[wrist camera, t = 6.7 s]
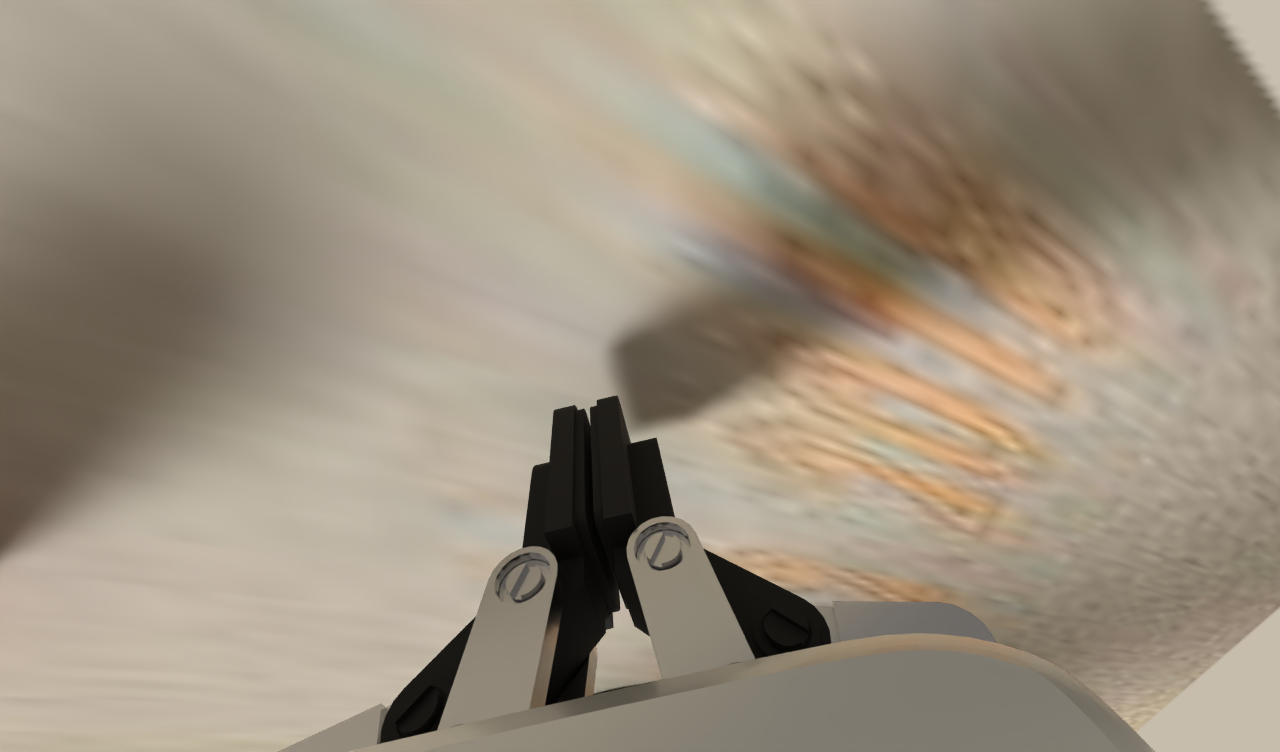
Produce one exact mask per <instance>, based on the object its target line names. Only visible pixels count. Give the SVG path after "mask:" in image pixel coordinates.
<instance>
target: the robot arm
mask: <svg viewBox="0 0 1280 752" xmlns="http://www.w3.org/2000/svg"><path fill="white" fill-rule="evenodd" d="M590 423H591V426H590ZM590 423H589V420H588V417H587V414H586V411H585V409H581V410H577V407H576V406H575V405H573V406H569V407H565V408H560V409H556V410H554V413H553V425H552V438H551V450H550V462H548V463H544V464H540V465H535V466H534V467H533V470H532V476H531V484H530V492H529V500H528V508H527V516H526V524H525V532H524V540H523V548H521V549H519V550H517V551H515V552H513V553H511V554H509V555H508V556H507V557H505V558H504V559H503V560H502V561H501V562H500V563H499V564H498V565H497V566H496V568H495V569H494V570H493V572H492V574H491V576H490V578H489V580H488V583H487V586H486V589H485V592H484V595H483V597H482V600H481V603H480V606H479V609H478V612H477V615H476V617H475V618H474V619H473V620H472V621H471V622H470V623H469V624H468V625H467V626H466V627H465V628H464V629H463V630H462V631H461V632H460V633H459V634H458V635H457V636H456V637H455V638H454V639H453V640H452V641H451V642H450V643H449V644H448V645H447V646H446V647H445V648H444V649H443V650H442V651H441V652H440V653H439V654H438V655H437V656H436V657H435V658H434V659H433V660H432V661H431V662H430V663H429V664H428V665H427V666H426V667H425V668H424V669H423V670H422V671H421V672H420V673H419V674H418V675H417V676H416V677H415V678H414V679H413V680H412V681H411V682H410V683H409V684H408V685H407V686H406V687H405V688H404V689H403V691H402V692H401V693H400V694H399V695H398V697H397V698H396V699H395V700H394V701H393V703H392V705H390V706H388V707H385V706H384V705H383V704H382V703H381V704H379V705H377V706H375V707H373V708H371V709H368V710H366V711H364V712H362V713H360V714H358V715H356V716H353V717H351V718H349V719H347V720H345V721H343V722H341V723H338V724H336V725H334V726H332V727H330V728H328V729H325V730H323V731H321V732H319V733H317V734H315V735H313V736H310V737H308V738H306V739H304V740H302V741H300V742H298V743H295V744H293V745H291V746H289V747H287V748H285V749H283V750H280V751H279V752H1155V751H1154V750H1153V749H1152V748H1151V747H1150V746H1149V745H1148V744H1147V743H1146V742H1145V741H1144V740H1143V739H1142V738H1141V737H1140V736H1139V735H1138V734H1137V733H1136V732H1135V731H1134V730H1133V729H1132V728H1131V727H1130V726H1129V725H1128V724H1127V723H1126V722H1125V721H1124V720H1123V719H1122V718H1121V717H1120V716H1119V715H1118V714H1117V713H1116V712H1115V711H1114V710H1113V709H1112V708H1110V707H1109V706H1108V705H1107V704H1106V703H1105V702H1104V701H1103V700H1102V699H1101V698H1099V697H1098V696H1097V695H1096V694H1095V693H1093V692H1092V691H1091V690H1090V689H1089V688H1088V687H1086V686H1085V685H1084V684H1083V683H1081V682H1080V681H1079V680H1078V679H1076V678H1075V677H1073V676H1072V675H1070V674H1069V673H1067V672H1066V671H1064V670H1063V669H1061V668H1060V667H1058V666H1056V665H1054V664H1053V663H1051V662H1049V661H1047V660H1045V659H1043V658H1040V657H1038V656H1035V655H1033V654H1030V653H1028V652H1025V651H1022V650H1019V649H1016V648H1012V647H1009V646H1006V645H1002V644H999V643H996V641H995V639H994V637H993V636H992V634H991V633H990V632H989V630H988V629H987V627H986V626H985V625H984V623H982V622H981V621H980V620H979V619H978V618H976V617H975V616H974V615H973V614H971V613H970V612H968V611H966V610H964V609H962V608H960V607H957V606H955V605H952V604H946V603H940V602H842V601H833V602H832V607H815V606H813V605H812V604H810V603H809V602H807V601H806V600H804V599H803V598H801V597H799V596H797V595H795V594H793V593H791V592H789V591H787V590H785V589H783V588H781V587H779V586H777V585H775V584H773V583H771V582H769V581H767V580H765V579H763V578H761V577H759V576H757V575H755V574H753V573H751V572H749V571H747V570H745V569H743V568H741V567H739V566H737V565H735V564H733V563H731V562H729V561H727V560H725V559H723V558H721V557H719V556H717V555H715V554H713V553H711V552H709V551H707V550H705V549H703V547H702V545H701V543H700V541H699V538H698V536H697V534H696V532H695V531H694V530H693V528H692V527H691V525H689V524H688V523H686V522H685V521H684V520H682V519H679V518H675V516H674V512H673V507H672V503H671V498H670V494H669V489H668V485H667V481H666V476H665V472H664V468H663V463H662V459H661V455H660V450H659V446H658V442H657V438H653V439H648V440H644V441H640V442H635V443H631V442H630V438H629V435H628V431H627V427H626V424H625V420H624V416H623V413H622V409H621V405H620V402H619V398H618V396H612V397H608V398H604V399H599V400H597V406H594V407H590ZM619 590H620V593H621V596H622V598H623V601H624V604H625V606H626V609H629V612H630V615H631V617H632V620H633V623H634V626H635V627H637V628H638V629H640V630H641V631H642V632H644V633H645V634H647V635H648V636H650V638H651V641H652V645H653V648H654V652H655V655H656V659H657V662H658V665H659V669H660V672H661V676H662V679H663V680H658V681H654V682H649V683H645V684H640V685H636V686H631V687H627V688H622V689H618V690H613V691H609V692H604V693H600V694H596V695H594V685H595V676H596V667H597V648H596V645H597V643H598V642H599V641H600V640H601V638H602V637H603V636H604V634H605V633H606V629H611V628H613V613H612V612H616V611H620V597H619Z"/></svg>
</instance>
